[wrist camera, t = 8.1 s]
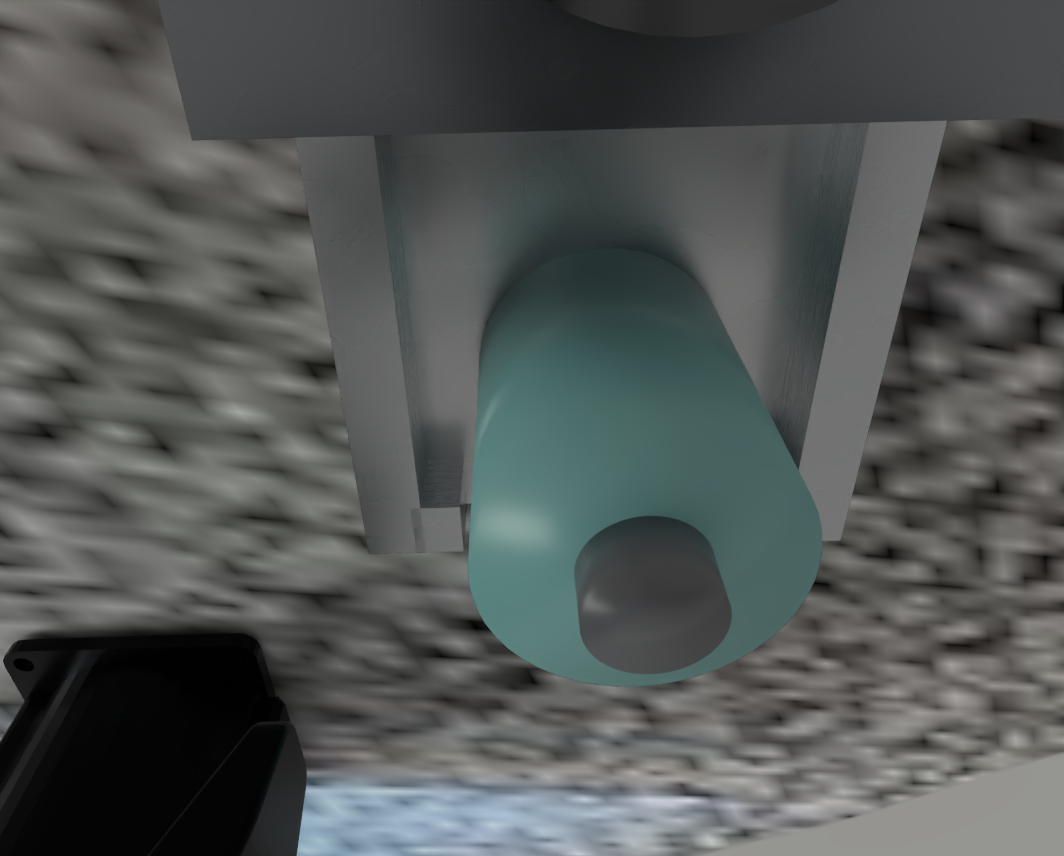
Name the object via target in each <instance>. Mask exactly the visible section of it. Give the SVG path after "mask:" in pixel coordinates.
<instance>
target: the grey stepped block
mask: <svg viewBox="0 0 1064 856" xmlns="http://www.w3.org/2000/svg"><path fill="white" fill-rule="evenodd" d="M158 4H159V8H160V12H161V16H162V20H163V24H164V28H165V32H166V36H167V40H168V44H169V48H170V52H171V56H172V60H173V64H174V68H175V72H176V76H177V80H178V85H179V89H180V93H181V97H182V101H183V105H184V109H185V113H186V117H187V121H188V125H189V129H190V133H191V137H192V140H224V139H262V138H295V141H296V146H297V152H298V157H299V163H300V169H301V174H302V180H303V185H304V191H305V197H306V202H307V208H308V214H309V219H310V225H311V230H312V236H313V242H314V247H315V253H316V258H317V264H318V270H319V275H320V281H321V286H322V292H323V298H324V303H325V309H326V315H327V320H328V326H329V331H330V337H331V343H332V348H333V354H334V359H335V365H336V371H337V376H338V382H339V388H340V393H341V399H342V404H343V410H344V416H345V421H346V427H347V432H348V438H349V444H350V449H351V455H352V460H353V466H354V472H355V477H356V483H357V489H358V494H359V500H360V505H361V511H362V517H363V522H364V528H365V533H366V539H367V545H368V550H369V554H390V553H425V552H459V551H464V540H465V527H466V513H467V504H471V500H472V482H473V464H474V446H475V428H476V410H477V392H478V374H479V356H480V349H481V343H482V339H483V335H484V332H485V329H486V326H487V324H488V322H489V320H490V318H491V316H492V314H493V312H494V310H495V309H496V307H497V306H498V304H499V303H500V301H501V300H502V299H503V298H504V296H505V295H506V294H507V293H508V292H509V291H510V290H511V288H512V287H513V286H515V285H516V284H517V283H518V282H519V281H520V280H521V279H523V278H524V277H525V276H526V275H528V274H529V273H531V272H532V271H534V270H535V269H537V268H538V267H540V266H542V265H544V264H546V263H548V262H550V261H552V260H554V259H557V258H559V257H562V256H565V255H568V254H571V253H575V252H580V251H584V250H590V249H601V248H619V249H628V250H635V251H640V252H644V253H647V254H650V255H654V256H657V257H659V258H661V259H663V260H665V261H668V262H670V263H672V264H673V265H675V266H676V267H678V268H680V269H681V270H683V271H684V272H685V273H687V274H688V275H689V276H690V277H691V278H692V279H694V280H695V281H696V282H697V283H698V284H699V286H700V287H701V288H702V289H703V290H704V291H705V293H706V294H707V295H708V297H709V299H710V300H711V302H712V303H713V305H714V307H715V309H716V311H717V313H718V315H719V316H720V318H721V320H722V322H723V324H724V326H725V328H726V330H727V332H728V334H729V336H730V338H731V340H732V342H733V344H734V346H735V348H736V350H737V352H738V353H739V355H740V357H741V359H742V361H743V363H744V365H745V367H746V369H747V371H748V373H749V375H750V377H751V379H752V381H753V383H754V385H755V387H756V389H757V390H758V392H759V394H760V396H761V398H762V400H763V402H764V404H765V406H766V408H767V410H768V412H769V414H770V416H771V418H772V420H773V422H774V424H775V426H776V428H777V429H778V431H779V433H780V435H781V437H782V439H783V441H784V443H785V445H786V447H787V449H788V451H789V453H790V455H791V457H792V459H793V461H794V463H795V465H796V466H797V468H798V470H799V472H800V474H801V476H802V478H803V480H804V482H805V484H806V486H807V488H808V490H809V492H810V494H811V496H812V498H813V500H814V503H815V505H816V508H817V510H818V513H819V517H820V522H821V527H822V541H839V540H841V536H842V532H843V528H844V524H845V521H846V517H847V513H848V509H849V505H850V501H851V497H852V493H853V489H854V485H855V481H856V477H857V473H858V470H859V466H860V462H861V458H862V454H863V450H864V446H865V442H866V438H867V434H868V430H869V426H870V422H871V419H872V415H873V411H874V407H875V403H876V399H877V395H878V391H879V387H880V383H881V379H882V375H883V371H884V367H885V364H886V360H887V356H888V352H889V348H890V344H891V340H892V336H893V332H894V328H895V324H896V320H897V316H898V313H899V309H900V305H901V301H902V297H903V293H904V289H905V285H906V281H907V277H908V273H909V269H910V265H911V262H912V258H913V254H914V250H915V246H916V242H917V238H918V234H919V230H920V226H921V222H922V218H923V214H924V210H925V207H926V203H927V199H928V195H929V191H930V187H931V183H932V179H933V175H934V171H935V167H936V163H937V159H938V156H939V152H940V148H941V144H942V140H943V136H944V132H945V128H946V124H947V121H949V120H987V119H1025V118H1063V117H1064V0H158Z"/></svg>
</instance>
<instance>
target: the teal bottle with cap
mask: <svg viewBox="0 0 1064 856" xmlns="http://www.w3.org/2000/svg"><path fill="white" fill-rule="evenodd" d="M822 548H823V543H822V527H821V522H820V517H819V513H818V510H817V508H816V505H815V503H814V500H813V498H812V496H811V494H810V492H809V490H808V488H807V486H806V484H805V482H804V480H803V478H802V476H801V474H800V472H799V470H798V468H797V466H796V465H795V463H794V461H793V459H792V457H791V455H790V453H789V451H788V449H787V447H786V445H785V443H784V441H783V439H782V437H781V435H780V433H779V431H778V429H777V428H776V426H775V424H774V422H773V420H772V418H771V416H770V414H769V412H768V410H767V408H766V406H765V404H764V402H763V400H762V398H761V396H760V394H759V392H758V390H757V389H756V387H755V385H754V383H753V381H752V379H751V377H750V375H749V373H748V371H747V369H746V367H745V365H744V363H743V361H742V359H741V357H740V355H739V353H738V352H737V350H736V348H735V346H734V344H733V342H732V340H731V338H730V336H729V334H728V332H727V330H726V328H725V326H724V324H723V322H722V320H721V318H720V316H719V315H718V313H717V311H716V309H715V307H714V305H713V303H712V302H711V300H710V299H709V297H708V295H707V294H706V293H705V291H704V290H703V289H702V288H701V287H700V286H699V284H698V283H697V282H696V281H695V280H694V279H692V278H691V277H690V276H689V275H688V274H687V273H685V272H684V271H683V270H681V269H680V268H678V267H676V266H675V265H673V264H672V263H670V262H668V261H665V260H663V259H661V258H659V257H657V256H654V255H650V254H647V253H644V252H640V251H635V250H628V249H619V248H601V249H590V250H584V251H580V252H575V253H571V254H568V255H565V256H562V257H559V258H557V259H554V260H552V261H550V262H548V263H546V264H544V265H542V266H540V267H538V268H537V269H535V270H534V271H532V272H531V273H529V274H528V275H526V276H525V277H524V278H523V279H521V280H520V281H519V282H518V283H517V284H516V285H515V286H513V287H512V288H511V290H510V291H509V292H508V293H507V294H506V295H505V296H504V298H503V299H502V300H501V301H500V303H499V304H498V306H497V307H496V309H495V310H494V312H493V314H492V316H491V318H490V320H489V322H488V324H487V326H486V329H485V332H484V335H483V339H482V343H481V349H480V356H479V374H478V392H477V410H476V428H475V446H474V464H473V482H472V500H471V518H470V536H469V554H468V578H469V584H470V590H471V594H472V597H473V600H474V602H475V605H476V608H477V610H478V612H479V614H480V615H481V617H482V619H483V621H484V622H485V624H486V625H487V626H488V628H489V629H490V630H491V631H492V633H493V634H494V635H495V636H496V638H498V639H499V640H500V641H501V642H502V643H503V644H504V645H505V646H506V647H507V648H508V649H509V650H511V651H512V652H514V653H515V654H516V655H518V656H519V657H521V658H522V659H524V660H525V661H527V662H529V663H531V664H533V665H535V666H536V667H538V668H540V669H543V670H545V671H548V672H550V673H553V674H555V675H558V676H561V677H564V678H568V679H571V680H575V681H580V682H585V683H590V684H596V685H606V686H648V685H658V684H664V683H670V682H676V681H681V680H684V679H688V678H692V677H696V676H699V675H702V674H705V673H708V672H711V671H714V670H716V669H719V668H721V667H723V666H725V665H727V664H730V663H732V662H734V661H736V660H738V659H739V658H741V657H743V656H745V655H746V654H748V653H750V652H752V651H753V650H755V649H756V648H758V647H759V646H760V645H762V644H763V643H765V642H766V641H767V640H769V639H770V638H771V637H772V636H773V635H774V634H776V633H777V632H778V631H779V630H780V629H781V628H782V627H783V626H784V625H785V624H786V623H787V622H788V621H789V620H790V619H791V617H792V616H793V615H794V614H795V613H796V612H797V610H798V609H799V607H800V606H801V604H802V603H803V602H804V600H805V599H806V597H807V595H808V593H809V591H810V589H811V587H812V585H813V583H814V581H815V578H816V575H817V572H818V569H819V566H820V561H821V554H822Z"/></svg>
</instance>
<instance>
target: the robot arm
mask: <svg viewBox="0 0 1064 856" xmlns="http://www.w3.org/2000/svg"><path fill="white" fill-rule="evenodd" d="M238 652H240V653H238ZM3 662H4V666H5V667H6V669H7V671H8V673H9V674H10V676H11V678H12V680H13V681H14V683H15V685H16V686H17V688H18V690H19V692H20V693H21V695H22V697H23V699H24V700H25V701H24V703H23V705H22V706H21V708H20V710H19V711H18V713H17V715H16V716H15V718H14V720H13V721H12V723H11V725H10V726H9V728H8V730H7V731H6V733H5V735H4V736H3V738H2V739H1V741H0V856H297V848H298V841H299V834H300V826H301V819H302V812H303V804H304V797H305V790H306V778H307V772H306V764H305V760H304V757H303V753H302V750H301V747H300V743H299V740H298V737H297V733H296V730H295V728H294V726H293V724H291V723H290V720H289V716H288V713H287V710H286V706H285V704H284V703H283V702H282V701H281V699H280V698H279V697H276V695H275V692H274V689H273V685H272V682H271V679H270V675H269V672H268V669H267V666H266V662H265V659H264V656H263V652H262V649H261V646H260V644H259V643H258V641H257V640H256V639H254V638H253V637H251V636H248V635H246V634H238V633H234V634H201V635H167V636H133V637H99V638H65V639H31V640H20V641H17V642H15V643H14V644H13V645H12V646H11V648H10V649H9V651H8V652H7V654H6V655H5V657H4V659H3Z"/></svg>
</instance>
